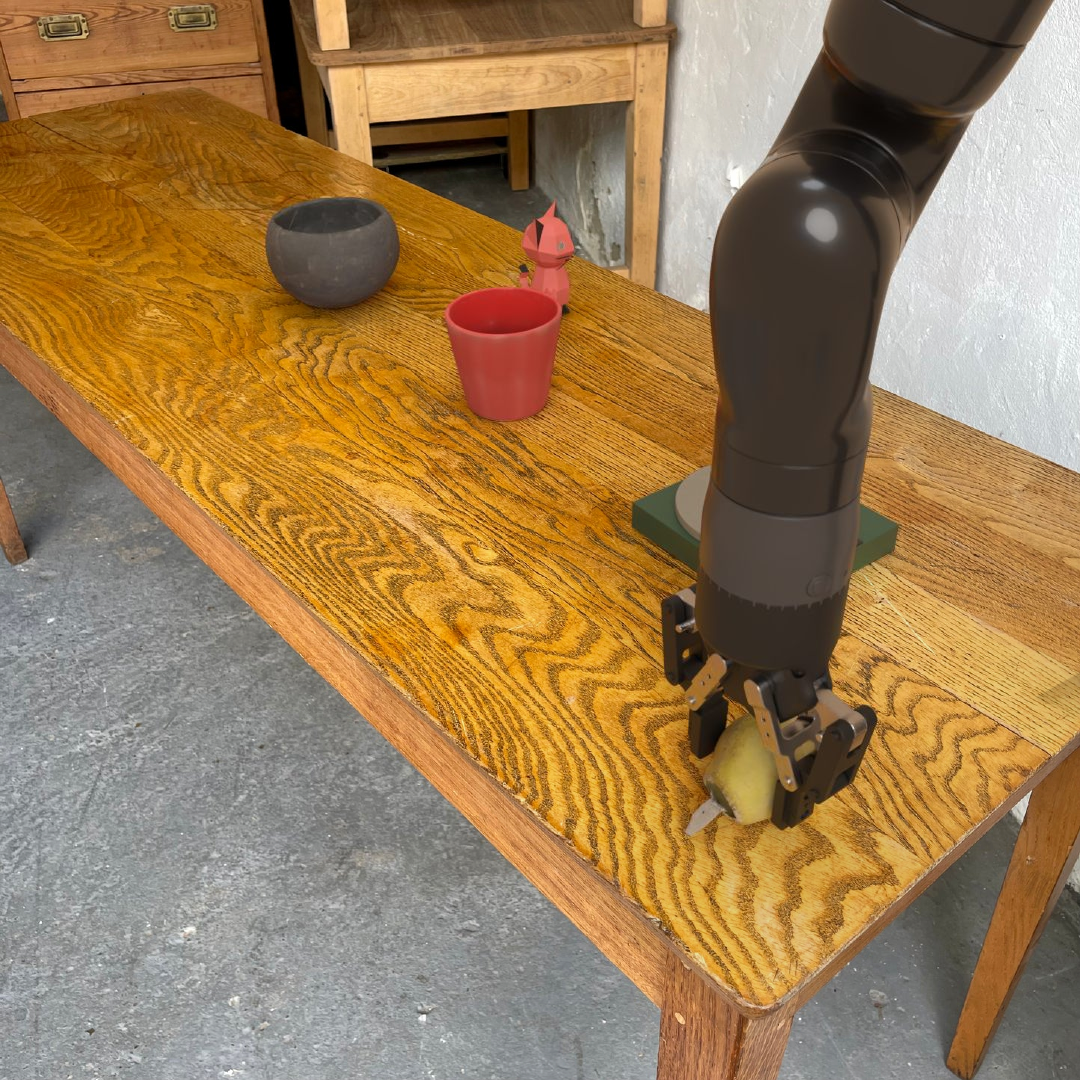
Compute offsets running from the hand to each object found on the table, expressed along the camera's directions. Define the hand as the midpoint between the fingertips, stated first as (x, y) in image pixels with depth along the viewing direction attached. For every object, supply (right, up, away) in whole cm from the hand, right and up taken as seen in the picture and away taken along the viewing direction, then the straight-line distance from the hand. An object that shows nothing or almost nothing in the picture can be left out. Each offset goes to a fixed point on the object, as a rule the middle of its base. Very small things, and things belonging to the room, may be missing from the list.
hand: (745, 783), depth 65 cm
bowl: (-35, +42, +64) cm, 84 cm away
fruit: (0, -2, +1) cm, 2 cm away
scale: (+5, +14, +23) cm, 28 cm away
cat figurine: (-11, +39, +59) cm, 71 cm away
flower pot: (-15, +27, +42) cm, 53 cm away
